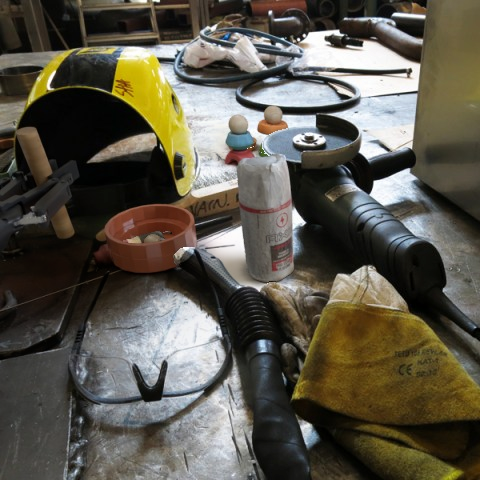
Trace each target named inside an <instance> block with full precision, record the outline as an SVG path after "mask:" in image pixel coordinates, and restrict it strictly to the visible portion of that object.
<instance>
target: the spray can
mask: <svg viewBox="0 0 480 480" xmlns="http://www.w3.org/2000/svg"><path fill="white" fill-rule="evenodd" d="M236 177H237V188H238V190H237V191H238V205H239V215H240V222H241V223H240V225H241V232H242V240H243V247H244V254H245V255H244V257H245V263H246V272H247V274H248V276H249V277H251V278H252V279H253V280H255V281H259V282H263V283H270V282H269V281H276V282H279V281H281V280H284V279H285V278H286V277H288V276H290V275H291V274H293V272H294V270H295V263H294V229H293V228H294V227H293V226H294V225H293V224H294V223H293V203H292V200H293V199H292V191H291V180H290V171H289V168H288V163H287V159H286V155H285V154H282V153H279V152H277V154H272V155H271V156H269V157H261V156H255V157H253V158H244V159H242V160H241V161H240V162H239V164H238V163H237V167H236Z"/></svg>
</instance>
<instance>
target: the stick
mask: <svg viewBox="0 0 480 480" xmlns="http://www.w3.org/2000/svg"><path fill="white" fill-rule="evenodd" d="M15 135H16V138H17V140H18V143H19V145H20V148H21V150H22V153H23V155H24V158H25V160H26V162H27V165H28V168H29V170H30V172H31V173H32V175H33V178H34V180H35V183H36V185H37V186H39V185H41V184H43V183H44V182H46V181H48V177H47V176H49V175H51V174H52V170H51V167H50V165H49V162H48V161H49V159H48V157H47V154H46V151H45V148H44V146H43V143H42V140H41V138H40V135H39V133H38V130H37V128H36V127H35V126H25V127H21V128H19V129H17V130H16V131H15ZM50 222H51V225H52V227H53V229H54V232H55V235H56V237H57V239H60V240H65V239H68V238H71V237H73V236H74V235H75V229H74V226H73V224H72V221H71V218H70V216H69V213H68V210H67V208H66V204H65V205H64V206H63V207H62V208H61V209H60V210H59V211H58V212H57V213H56V214H55V215H54V216H53V217H52V218H51V219H50Z"/></svg>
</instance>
